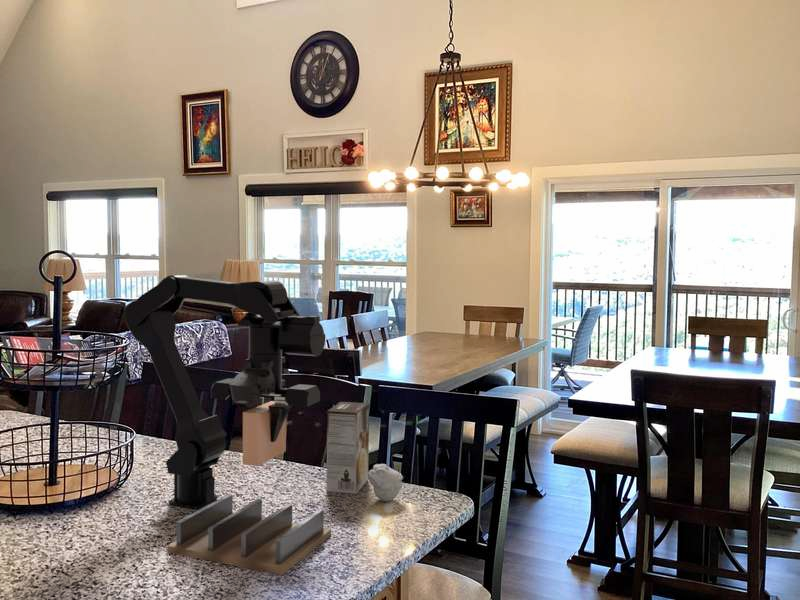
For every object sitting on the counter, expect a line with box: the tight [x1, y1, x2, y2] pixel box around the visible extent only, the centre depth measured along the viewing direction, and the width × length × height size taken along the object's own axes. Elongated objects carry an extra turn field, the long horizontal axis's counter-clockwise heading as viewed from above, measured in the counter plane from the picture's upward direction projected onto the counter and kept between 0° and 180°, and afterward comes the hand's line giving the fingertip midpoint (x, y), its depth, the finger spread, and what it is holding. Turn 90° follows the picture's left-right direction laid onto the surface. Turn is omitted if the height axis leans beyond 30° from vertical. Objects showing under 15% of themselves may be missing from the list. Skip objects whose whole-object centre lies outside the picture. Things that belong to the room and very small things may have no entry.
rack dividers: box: [175, 493, 325, 564], centre depth 114 cm, size 18×14×4 cm
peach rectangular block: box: [242, 400, 287, 467], centre depth 127 cm, size 3×10×9 cm, turn 162°
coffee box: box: [325, 401, 370, 495], centre depth 143 cm, size 9×6×16 cm
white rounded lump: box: [367, 463, 404, 502], centre depth 135 cm, size 6×7×7 cm
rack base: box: [166, 511, 332, 576], centre depth 114 cm, size 20×16×1 cm
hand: (264, 440), depth 127 cm, fingers closed on peach rectangular block, 3 cm apart
